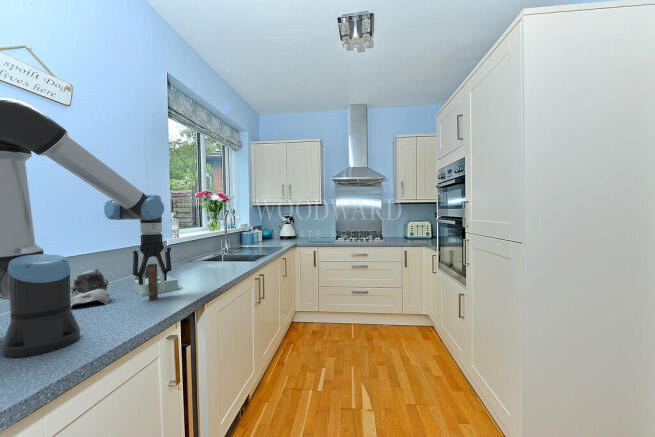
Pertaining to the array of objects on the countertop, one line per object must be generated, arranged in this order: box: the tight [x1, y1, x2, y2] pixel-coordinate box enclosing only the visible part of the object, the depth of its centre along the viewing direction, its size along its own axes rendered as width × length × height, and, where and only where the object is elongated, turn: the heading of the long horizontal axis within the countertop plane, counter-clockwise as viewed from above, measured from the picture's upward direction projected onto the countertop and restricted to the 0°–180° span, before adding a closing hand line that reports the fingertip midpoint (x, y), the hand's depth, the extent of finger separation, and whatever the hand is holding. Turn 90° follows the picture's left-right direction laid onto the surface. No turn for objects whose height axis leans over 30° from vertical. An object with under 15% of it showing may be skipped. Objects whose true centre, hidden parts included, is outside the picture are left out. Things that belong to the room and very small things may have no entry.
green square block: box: [133, 274, 179, 297], centre depth 135 cm, size 14×14×4 cm
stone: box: [70, 269, 111, 309], centre depth 116 cm, size 14×10×15 cm
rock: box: [132, 264, 148, 285], centre depth 144 cm, size 12×10×10 cm
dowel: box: [147, 263, 159, 301], centre depth 121 cm, size 3×3×14 cm
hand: (153, 290), depth 121 cm, fingers open, 6 cm apart
